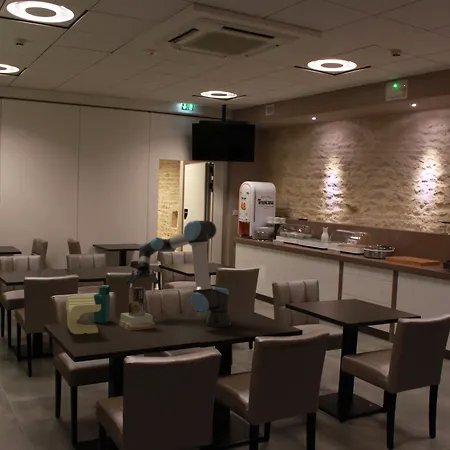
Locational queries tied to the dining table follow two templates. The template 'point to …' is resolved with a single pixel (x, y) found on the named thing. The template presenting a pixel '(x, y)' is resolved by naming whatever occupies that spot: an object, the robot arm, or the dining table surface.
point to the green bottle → (102, 304)
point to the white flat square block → (136, 318)
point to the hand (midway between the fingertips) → (141, 293)
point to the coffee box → (137, 300)
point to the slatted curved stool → (80, 313)
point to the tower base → (136, 325)
